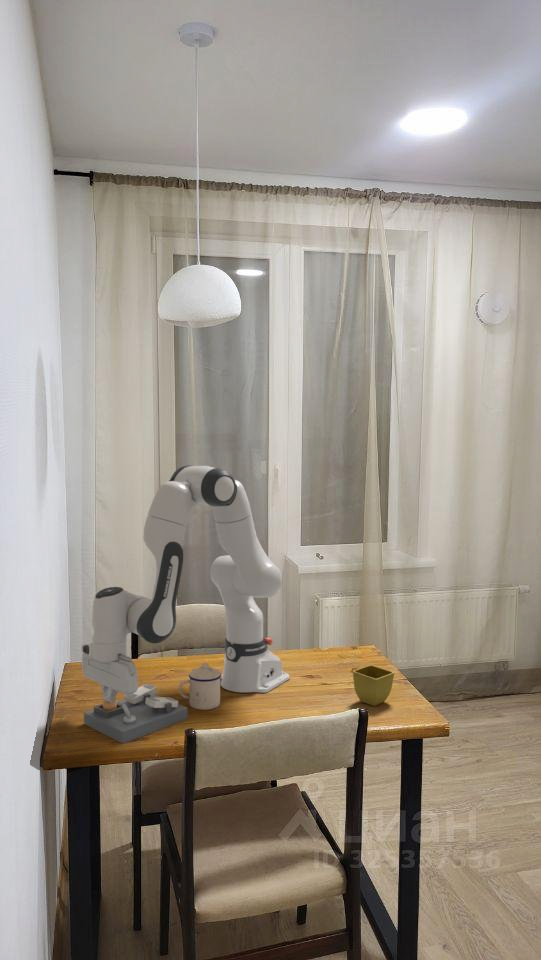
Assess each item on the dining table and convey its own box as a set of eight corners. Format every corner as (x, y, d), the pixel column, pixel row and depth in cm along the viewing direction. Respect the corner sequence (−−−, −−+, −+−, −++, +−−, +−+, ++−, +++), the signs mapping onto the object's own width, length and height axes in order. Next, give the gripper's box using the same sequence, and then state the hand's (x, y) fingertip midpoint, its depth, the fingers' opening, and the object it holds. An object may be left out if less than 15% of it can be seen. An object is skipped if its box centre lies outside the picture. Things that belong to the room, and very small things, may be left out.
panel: (145, 701, 207) (145, 673, 207) (187, 718, 195) (187, 689, 195) (81, 722, 192) (81, 692, 191) (123, 743, 180) (123, 711, 179)
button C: (111, 706, 194) (111, 697, 194) (119, 710, 192) (119, 701, 192) (100, 710, 192) (100, 701, 191) (108, 714, 189) (108, 705, 189)
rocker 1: (148, 688, 204) (147, 682, 204) (157, 692, 201) (156, 686, 201) (124, 700, 198) (124, 694, 198) (133, 704, 196) (133, 698, 195)
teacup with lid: (217, 697, 211) (218, 657, 210) (223, 709, 202) (224, 668, 202) (176, 700, 208) (176, 660, 207) (180, 712, 199) (180, 671, 199)
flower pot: (394, 702, 209) (395, 671, 208) (375, 710, 203) (376, 679, 202) (370, 694, 215) (370, 664, 215) (351, 701, 209) (351, 671, 209)
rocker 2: (167, 703, 198) (168, 696, 198) (177, 707, 195) (178, 700, 195) (144, 703, 192) (146, 696, 192) (154, 707, 189) (155, 701, 189)
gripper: (144, 656, 186) (143, 709, 187) (97, 639, 199) (97, 688, 200) (123, 662, 181) (123, 716, 182) (77, 644, 195) (77, 694, 196)
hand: (109, 701), depth 191 cm, fingers closed, pressing on button C
